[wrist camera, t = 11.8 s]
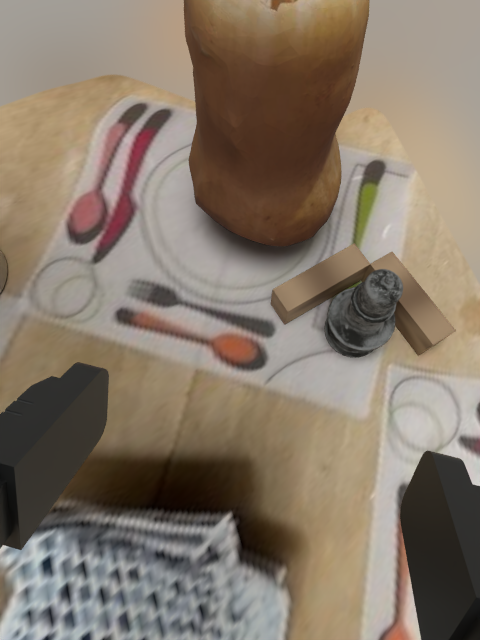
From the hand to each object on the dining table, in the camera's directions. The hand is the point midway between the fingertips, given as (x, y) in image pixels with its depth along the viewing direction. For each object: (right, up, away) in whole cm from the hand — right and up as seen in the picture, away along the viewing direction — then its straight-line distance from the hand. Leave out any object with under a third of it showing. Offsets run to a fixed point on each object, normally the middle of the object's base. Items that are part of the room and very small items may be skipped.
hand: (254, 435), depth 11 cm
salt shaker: (+10, +2, +31) cm, 33 cm away
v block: (+11, +5, +32) cm, 34 cm away
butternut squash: (+2, +14, +36) cm, 38 cm away
